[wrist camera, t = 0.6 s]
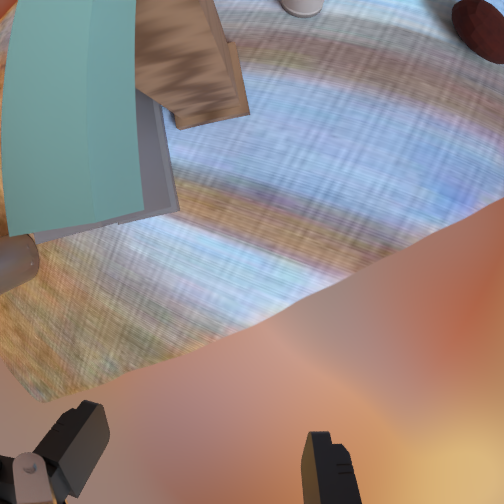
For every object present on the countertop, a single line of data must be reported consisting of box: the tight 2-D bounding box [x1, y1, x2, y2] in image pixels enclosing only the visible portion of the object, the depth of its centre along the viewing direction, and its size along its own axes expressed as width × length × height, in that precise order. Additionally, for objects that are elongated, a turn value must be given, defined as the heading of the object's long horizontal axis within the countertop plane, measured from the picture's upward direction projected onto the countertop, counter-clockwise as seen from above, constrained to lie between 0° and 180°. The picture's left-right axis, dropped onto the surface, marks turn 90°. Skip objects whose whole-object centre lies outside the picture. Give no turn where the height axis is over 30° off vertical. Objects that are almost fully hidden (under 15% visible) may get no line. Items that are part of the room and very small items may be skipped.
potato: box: [452, 0, 504, 64], centre depth 30 cm, size 11×13×10 cm
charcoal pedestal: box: [34, 88, 180, 244], centre depth 33 cm, size 10×18×21 cm, turn 11°
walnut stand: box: [135, 0, 250, 130], centre depth 25 cm, size 10×11×33 cm
